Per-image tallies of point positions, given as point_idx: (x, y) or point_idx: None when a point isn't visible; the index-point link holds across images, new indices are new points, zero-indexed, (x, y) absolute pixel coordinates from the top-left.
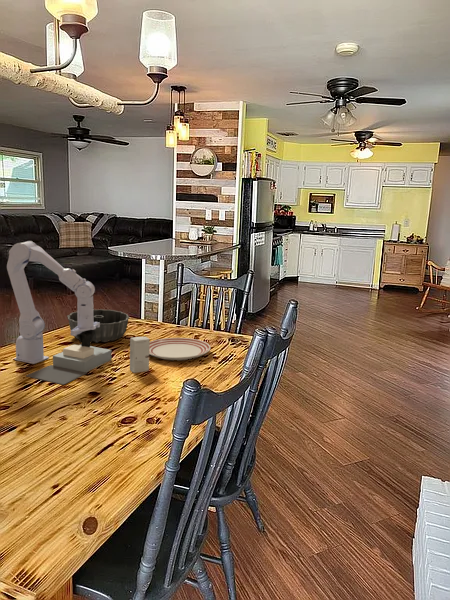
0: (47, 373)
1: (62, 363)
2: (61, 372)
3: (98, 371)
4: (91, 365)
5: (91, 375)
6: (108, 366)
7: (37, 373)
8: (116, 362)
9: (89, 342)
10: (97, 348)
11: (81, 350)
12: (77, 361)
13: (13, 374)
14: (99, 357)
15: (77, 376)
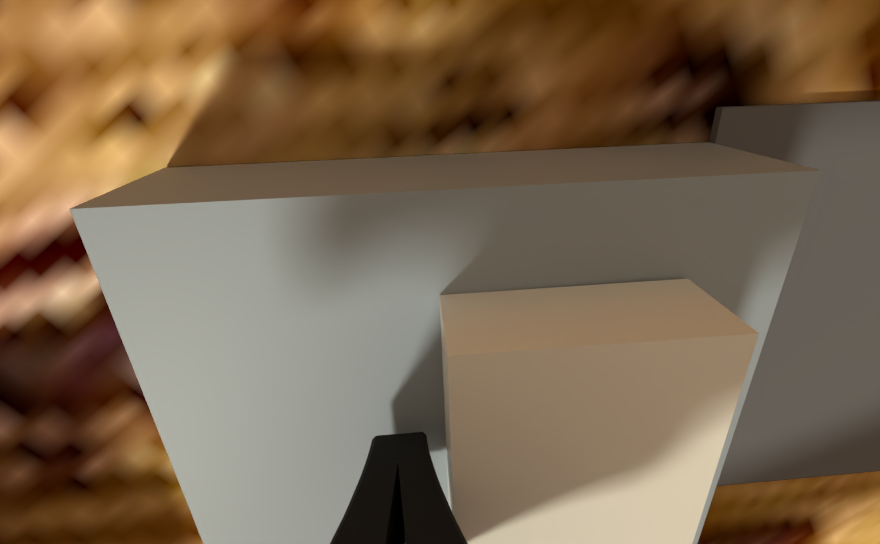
0: (823, 394)
1: None
2: (778, 326)
3: (601, 27)
4: (606, 157)
5: (757, 11)
6: (380, 32)
7: (838, 444)
8: (181, 36)
9: (387, 535)
10: (199, 415)
11: (669, 417)
12: (773, 287)
13: (857, 532)
14: (432, 181)
15: (858, 122)
